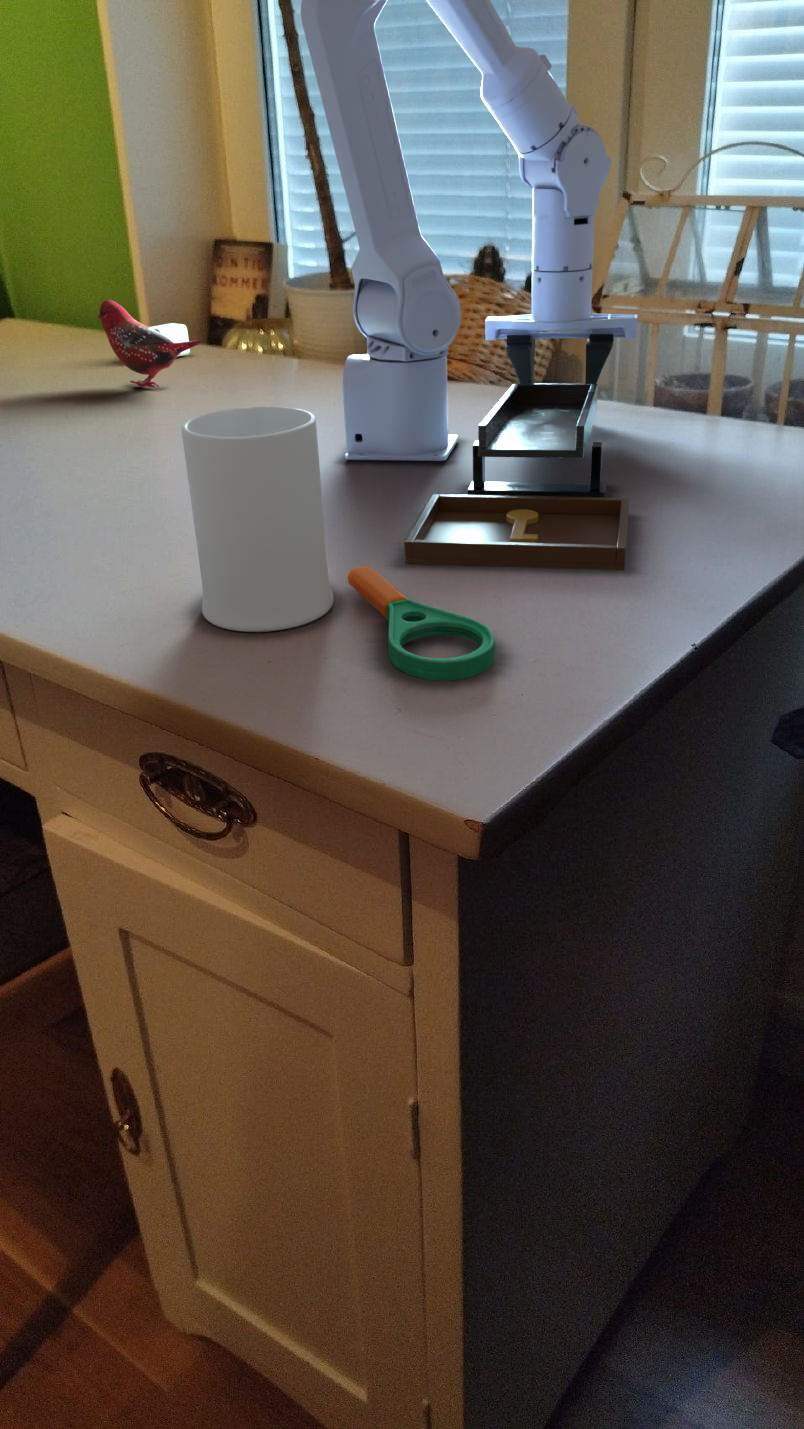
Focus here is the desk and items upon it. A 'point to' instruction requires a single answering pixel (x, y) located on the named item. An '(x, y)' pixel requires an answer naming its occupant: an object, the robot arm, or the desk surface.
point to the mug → (258, 517)
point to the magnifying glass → (423, 630)
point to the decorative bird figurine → (139, 343)
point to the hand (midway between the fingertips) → (558, 413)
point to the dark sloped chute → (540, 421)
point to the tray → (564, 532)
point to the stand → (538, 488)
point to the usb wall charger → (174, 333)
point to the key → (522, 525)
